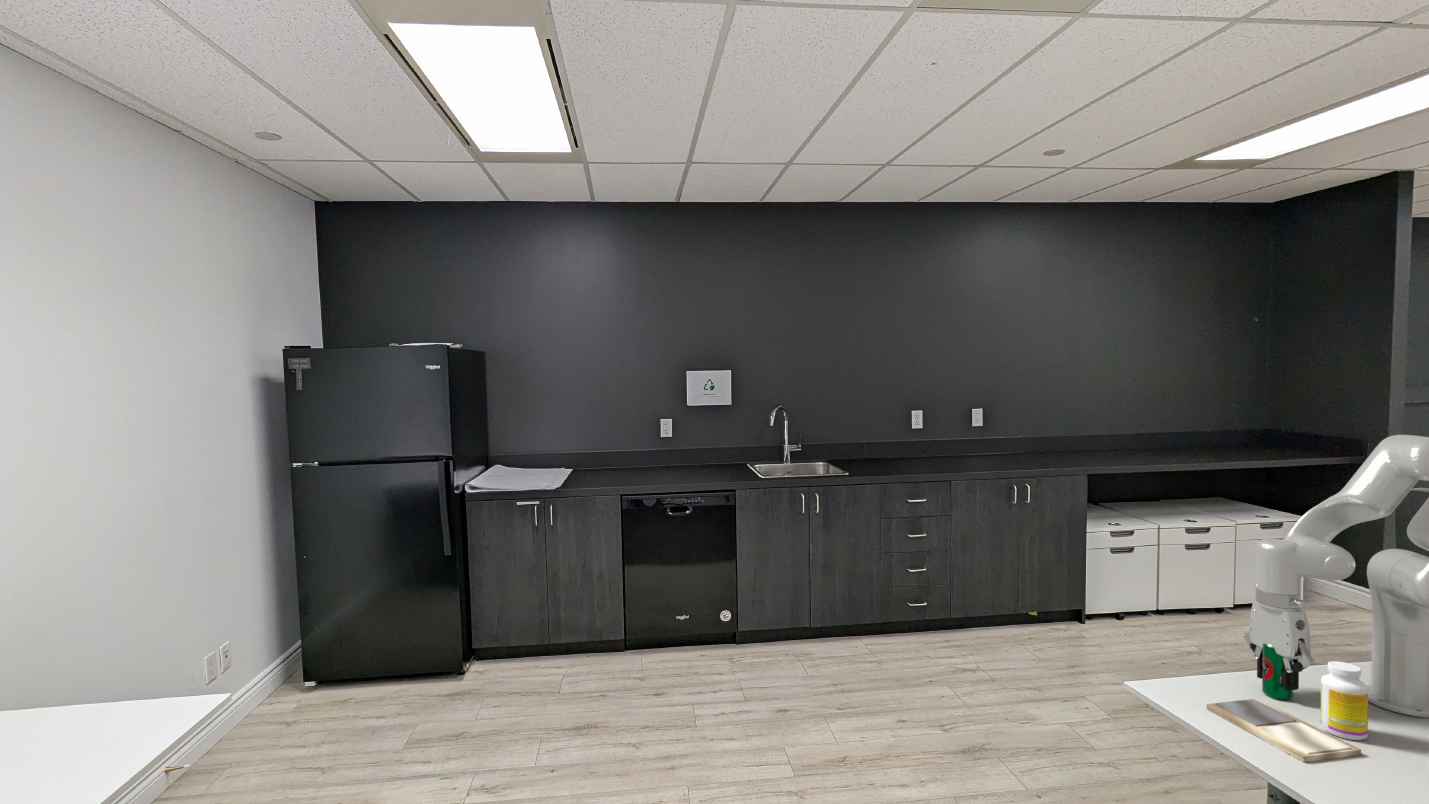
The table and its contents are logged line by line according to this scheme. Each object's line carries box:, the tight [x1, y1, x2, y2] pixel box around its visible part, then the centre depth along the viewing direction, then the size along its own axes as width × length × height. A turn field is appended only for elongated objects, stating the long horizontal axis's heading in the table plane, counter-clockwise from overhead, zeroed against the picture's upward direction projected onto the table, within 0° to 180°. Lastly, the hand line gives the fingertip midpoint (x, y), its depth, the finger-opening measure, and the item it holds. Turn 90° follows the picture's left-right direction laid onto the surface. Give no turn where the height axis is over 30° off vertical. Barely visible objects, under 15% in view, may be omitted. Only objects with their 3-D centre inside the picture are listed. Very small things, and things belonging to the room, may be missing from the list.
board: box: [1206, 698, 1362, 763], centre depth 133 cm, size 12×20×1 cm, turn 9°
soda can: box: [1261, 643, 1294, 701], centre depth 147 cm, size 5×5×12 cm
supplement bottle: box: [1320, 660, 1369, 741], centre depth 132 cm, size 7×7×13 cm
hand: (1277, 682), depth 147 cm, fingers closed on soda can, 5 cm apart
